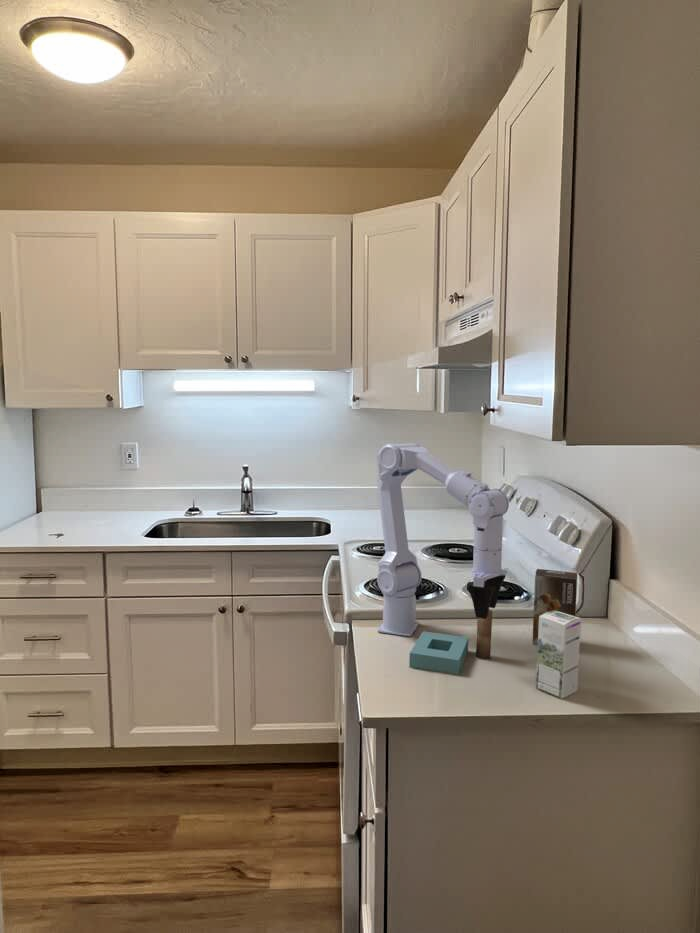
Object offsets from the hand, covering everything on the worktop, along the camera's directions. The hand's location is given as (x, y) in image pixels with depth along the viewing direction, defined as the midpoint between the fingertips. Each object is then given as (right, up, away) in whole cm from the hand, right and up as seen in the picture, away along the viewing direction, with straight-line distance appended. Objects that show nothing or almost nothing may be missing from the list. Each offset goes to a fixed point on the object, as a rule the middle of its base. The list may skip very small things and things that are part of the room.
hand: (485, 612), depth 133 cm
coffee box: (+18, -10, +12) cm, 24 cm away
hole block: (-9, -10, +1) cm, 14 cm away
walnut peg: (0, -10, +3) cm, 11 cm away
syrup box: (+11, -12, -12) cm, 20 cm away
